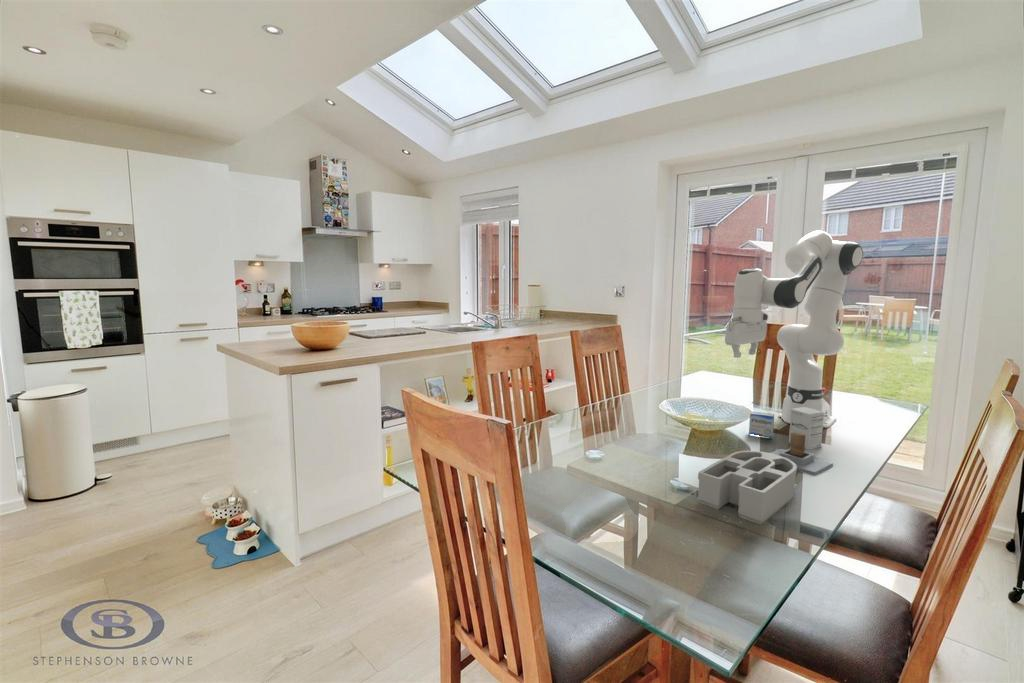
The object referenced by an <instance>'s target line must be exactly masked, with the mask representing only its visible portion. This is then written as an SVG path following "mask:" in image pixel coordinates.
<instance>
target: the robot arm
mask: <svg viewBox="0 0 1024 683" xmlns="http://www.w3.org/2000/svg"><path fill="white" fill-rule="evenodd" d="M863 256H864V251H863V248H862V246H861V244H860V243H857V242H854V241H841V240H840V241H839V240H833V238H832V236H831V235H830V234H829V233H827V232H826V231H822V230H814V231H812V232H810V233H808V234H806V235H804V236H803V237H802V238H799V239H798V240H797V241H796V242H795V243H794V244H792V246H790V248H789V249H787V252H786V253H785V257H784V262H785V265H786V266H787V268H788V269H789V270H790V272H792V273H793V274H795V276H792V277H785V278H784V277H781V278H779V277H777V278H774V277H773V278H772V277H771V278H770V277H768V276H765V275H764V274H763V271H762V269H761V268H757V267H755V268H752V267H751V268H744V269H742V270H741V269H740V270H739V271H738V272H737V273H736V277H735V281H734V288H733V289H734V290H733V297H734V302H733V308H732V309H733V310H732V318H731V319H730V320H729V322H728V324H727V325H726V329H725V336H724V343H725V345H727V346H731V349H732V351H733V358H737V359H738V358H741V357H742V352H741V351H740V349H741V345H746V344H750V348H749V349H748V355H749V356H750V355H751V356H754V355H756V354H757V348H758V346H759V342H764V341H765V339H766V338H767V331H768V323H767V321H768V320H769V314H768V313H766V312H764V311H763V310H762V308H763V307H765V306H766V307H779V308H787V309H795V308H797V307H798V306H799V305H800V304H802V302H803V301H804V298H805V296H806V294H807V292H808V290H809V288H810V290H809V293H808V294H807V295H808V296H807V298H806V302H805V303H804V308H803V309H804V310H805V312H806V313H807V314H808V315H809V317H810V319H809V320H810V321H809V324H802V323H794V324H793V323H792V324H785V325H783V326H781V327H780V328H779V329H778V332H777V335H776V341H777V343H778V345H779V346H780V347H781V349H783V351H784V353H785V355H786V357H787V360H788V364H789V385H788V386H787V390H786V391H787V393H786V394H787V396H786V397H785V398H783V402H782V403H783V404H782V409H781V413H779V414H778V416H779V417H778V418H780V417H781V418H780V419H781V420H782V419H783V420H784V421H783V420H782V421H783V422H785V423H787V424H790V420H791V409H794V408H800V407H807V408H811V409H815V410H818V411H822V412H824V420H823V428H824V429H825V428H826V429H827V428H828V429H829V428H830V426H832V424H834V423H835V422H836V420H837V417H836V416H833V415H830V414H831V405H830V404H829V403H828V402H827V401H826V399H824V394H825V393H826V392H827V391H826V390H827V389H826V388H825V387H822V386H823V368H822V366H821V365H819V364H818V363H817V362H816V360H815V357H814V355H815V356H822V357H823V356H834V355H837V354H838V353H840V351H841V350H842V349H843V347H844V345H845V344H844V340H845V339H844V336H843V334H842V333H841V331H840V330H839V329H838V326H837V313H838V310H839V307H840V304H841V301H842V298H843V296H844V293H845V290H846V286H847V282H848V281H847V280H848V275H849V274H851V273H852V272H853V271H855V269H857V268H858V267H859V266H860V264H861V263H862V260H863Z"/></svg>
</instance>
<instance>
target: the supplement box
mask: <svg viewBox="0 0 1024 683" xmlns="http://www.w3.org/2000/svg"><path fill="white" fill-rule="evenodd" d="M823 420H824V412H822V411H818V410H815V409H811V408H807V407H800V408H794V409H791V420H790V423H789V424H790V425H789V433H788V434H789V436H788V444H790V441H791V433H792V432H798V433H803V434H805V435H806V438H805V450H812V449H816V448H820V447H822V441H823V440H822V439H823V432H824V431H823V430H824V427H823Z"/></svg>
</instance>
